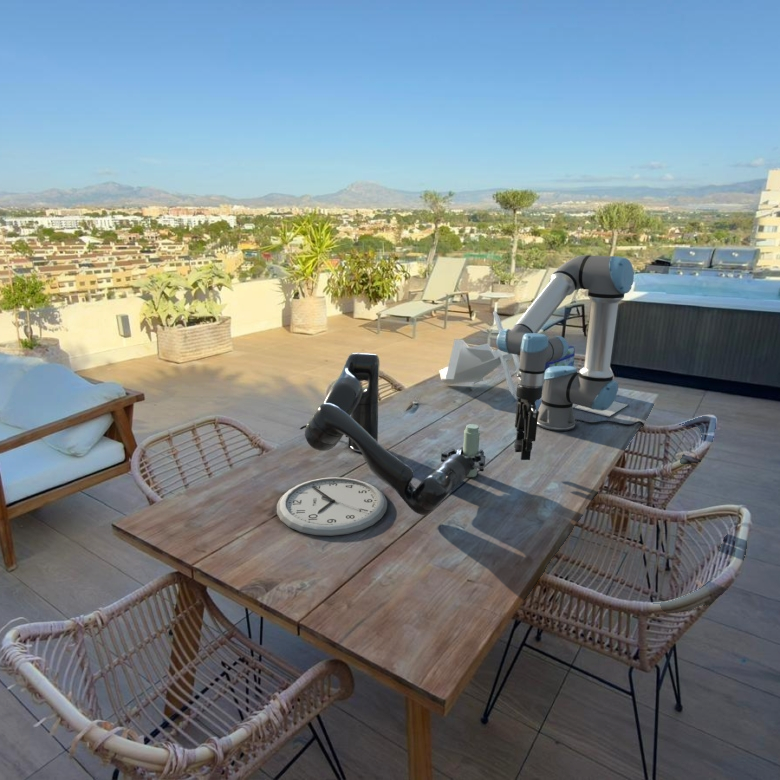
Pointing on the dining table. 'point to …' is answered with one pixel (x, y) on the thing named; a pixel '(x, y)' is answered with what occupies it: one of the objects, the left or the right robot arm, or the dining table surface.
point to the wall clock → (331, 506)
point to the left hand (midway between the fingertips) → (473, 450)
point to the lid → (519, 445)
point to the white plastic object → (477, 362)
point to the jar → (471, 444)
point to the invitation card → (608, 412)
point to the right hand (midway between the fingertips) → (522, 455)
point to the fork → (413, 403)
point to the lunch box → (563, 360)
